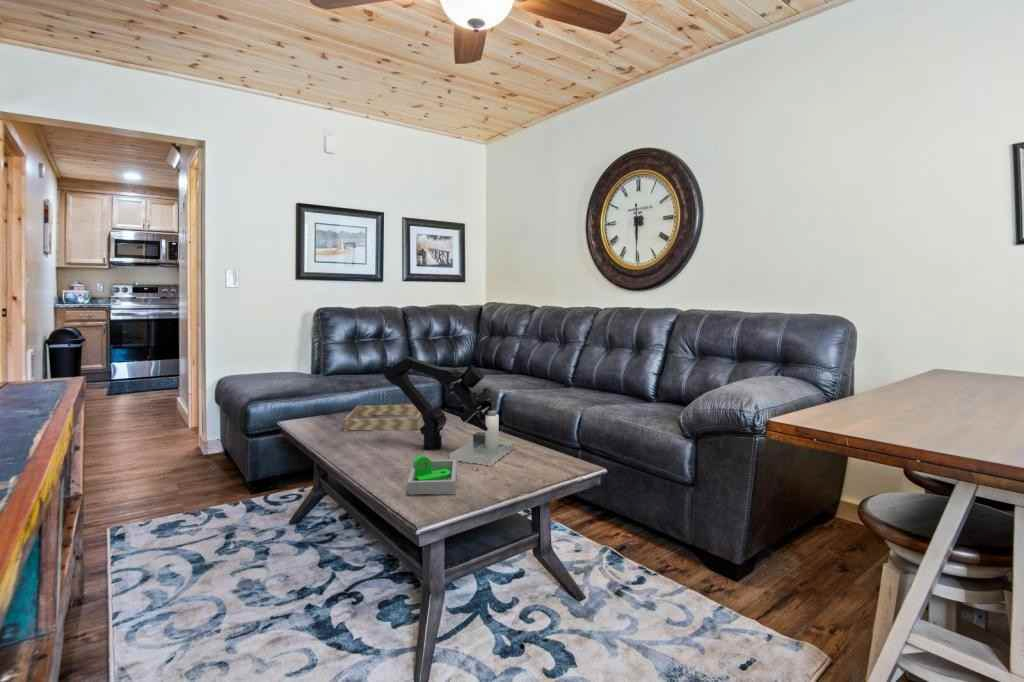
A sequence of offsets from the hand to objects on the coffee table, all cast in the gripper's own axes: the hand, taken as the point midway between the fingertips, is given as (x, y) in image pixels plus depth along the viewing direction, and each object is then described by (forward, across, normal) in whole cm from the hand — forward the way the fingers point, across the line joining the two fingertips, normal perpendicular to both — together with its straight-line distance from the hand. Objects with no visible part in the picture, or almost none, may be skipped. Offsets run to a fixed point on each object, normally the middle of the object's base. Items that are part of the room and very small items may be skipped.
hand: (492, 427), depth 199 cm
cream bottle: (+6, 0, +6) cm, 8 cm away
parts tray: (+4, -32, +12) cm, 35 cm away
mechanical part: (+3, -29, +14) cm, 33 cm away
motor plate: (+5, 0, +10) cm, 11 cm away
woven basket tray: (-39, +26, +55) cm, 72 cm away
